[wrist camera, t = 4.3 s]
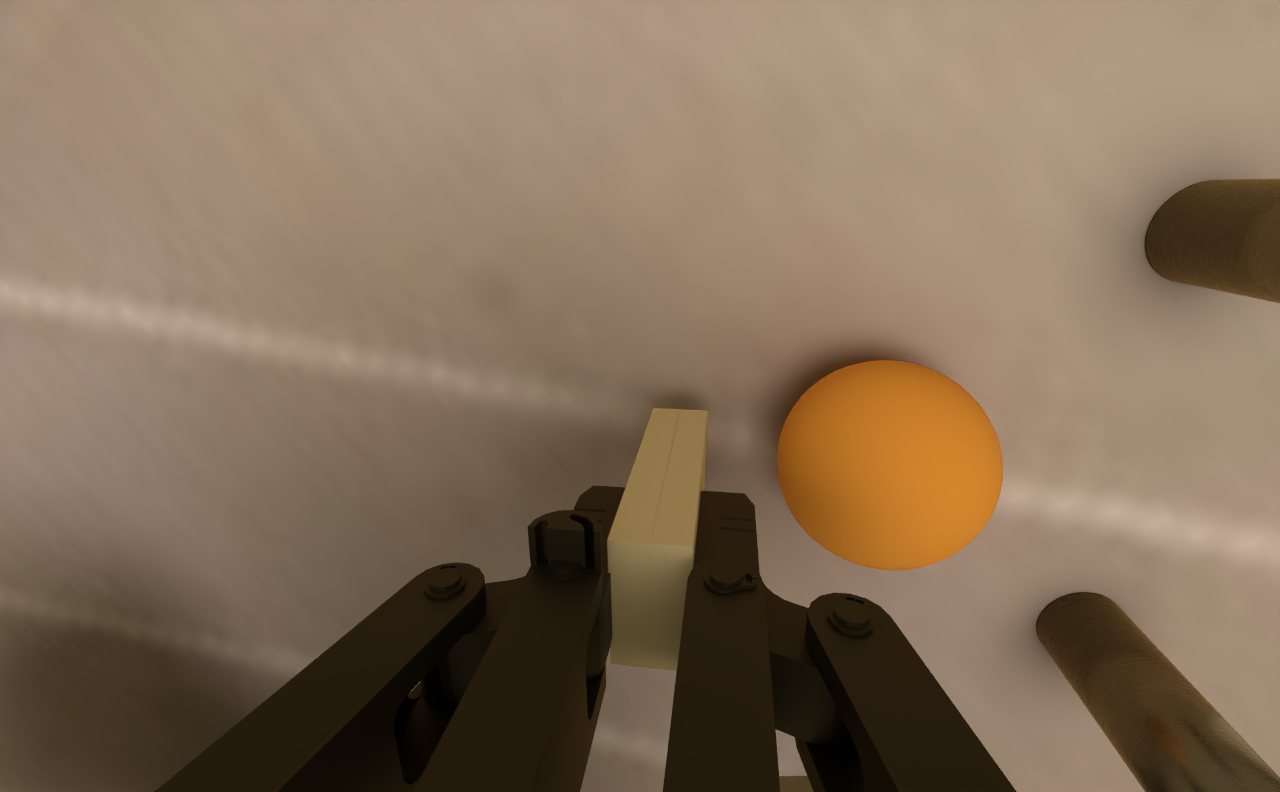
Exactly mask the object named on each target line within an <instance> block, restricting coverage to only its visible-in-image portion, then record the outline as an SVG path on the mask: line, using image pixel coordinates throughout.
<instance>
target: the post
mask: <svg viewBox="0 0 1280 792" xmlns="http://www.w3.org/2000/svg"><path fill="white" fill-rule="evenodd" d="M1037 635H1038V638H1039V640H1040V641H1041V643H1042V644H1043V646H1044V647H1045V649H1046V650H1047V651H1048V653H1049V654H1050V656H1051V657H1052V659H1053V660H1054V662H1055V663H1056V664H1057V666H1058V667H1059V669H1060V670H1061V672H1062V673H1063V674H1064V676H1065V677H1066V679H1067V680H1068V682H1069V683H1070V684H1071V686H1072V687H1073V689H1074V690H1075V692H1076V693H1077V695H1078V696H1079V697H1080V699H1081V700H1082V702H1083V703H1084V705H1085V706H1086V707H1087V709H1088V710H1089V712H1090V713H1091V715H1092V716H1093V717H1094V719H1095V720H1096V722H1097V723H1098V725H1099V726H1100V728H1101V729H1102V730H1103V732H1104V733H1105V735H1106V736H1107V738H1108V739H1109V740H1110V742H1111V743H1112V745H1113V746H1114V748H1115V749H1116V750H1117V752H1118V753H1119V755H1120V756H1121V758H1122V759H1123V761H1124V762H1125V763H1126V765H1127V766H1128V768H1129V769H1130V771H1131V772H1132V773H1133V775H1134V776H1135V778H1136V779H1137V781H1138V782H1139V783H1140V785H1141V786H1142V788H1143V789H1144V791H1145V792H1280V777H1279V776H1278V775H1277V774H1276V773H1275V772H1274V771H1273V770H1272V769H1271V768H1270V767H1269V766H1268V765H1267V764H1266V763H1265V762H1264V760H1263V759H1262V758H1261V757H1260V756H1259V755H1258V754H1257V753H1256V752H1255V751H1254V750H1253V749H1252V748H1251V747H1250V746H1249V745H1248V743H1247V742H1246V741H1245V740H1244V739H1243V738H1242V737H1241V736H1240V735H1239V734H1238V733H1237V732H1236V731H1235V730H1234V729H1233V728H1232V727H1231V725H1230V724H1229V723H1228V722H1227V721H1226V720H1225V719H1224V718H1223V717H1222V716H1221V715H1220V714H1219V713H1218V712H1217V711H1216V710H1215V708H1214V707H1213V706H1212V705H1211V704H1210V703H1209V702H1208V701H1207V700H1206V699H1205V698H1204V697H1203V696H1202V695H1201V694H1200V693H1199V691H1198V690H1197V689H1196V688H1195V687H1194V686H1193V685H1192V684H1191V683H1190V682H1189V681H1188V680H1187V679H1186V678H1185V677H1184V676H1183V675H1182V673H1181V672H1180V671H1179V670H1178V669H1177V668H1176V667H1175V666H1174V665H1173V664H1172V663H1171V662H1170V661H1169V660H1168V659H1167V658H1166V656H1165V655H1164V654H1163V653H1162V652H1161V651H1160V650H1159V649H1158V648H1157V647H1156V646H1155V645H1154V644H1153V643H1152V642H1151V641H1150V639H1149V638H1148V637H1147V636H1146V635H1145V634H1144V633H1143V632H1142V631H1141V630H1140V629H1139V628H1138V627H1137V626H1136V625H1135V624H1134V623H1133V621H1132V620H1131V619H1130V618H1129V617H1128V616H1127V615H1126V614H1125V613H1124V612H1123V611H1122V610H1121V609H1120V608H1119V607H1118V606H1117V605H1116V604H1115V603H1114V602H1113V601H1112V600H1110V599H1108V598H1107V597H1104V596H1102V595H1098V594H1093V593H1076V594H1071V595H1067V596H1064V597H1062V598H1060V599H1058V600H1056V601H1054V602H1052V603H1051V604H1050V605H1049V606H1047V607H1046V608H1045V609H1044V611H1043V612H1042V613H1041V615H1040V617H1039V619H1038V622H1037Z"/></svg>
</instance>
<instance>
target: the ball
mask: <svg viewBox="0 0 1280 792" xmlns="http://www.w3.org/2000/svg"><path fill="white" fill-rule="evenodd" d="M777 470H778V478H779V482H780V487H781V490H782V493H783V495H784V498H785V501H786V503H787V505H788V507H789V509H790V511H791V513H792V514H793V516H794V517H795V519H796V520H797V522H798V523H799V524H800V525H801V527H802V528H803V529H804V530H805V531H806V532H807V533H808V534H809V535H810V536H811V537H812V538H813V539H814V540H815V541H816V542H818V543H819V544H820V545H821V546H823V547H824V548H825V549H827V550H829V551H830V552H832V553H833V554H835V555H837V556H839V557H841V558H843V559H845V560H848V561H850V562H853V563H855V564H859V565H862V566H866V567H871V568H876V569H883V570H908V569H914V568H920V567H924V566H927V565H930V564H934V563H937V562H939V561H942V560H944V559H946V558H948V557H950V556H952V555H953V554H955V553H956V552H958V551H960V550H961V549H962V548H964V547H965V546H966V545H967V544H969V543H970V542H971V541H972V540H973V539H974V538H975V537H976V536H977V535H978V534H979V533H980V531H981V530H982V529H983V528H984V526H985V525H986V524H987V522H988V520H989V519H990V517H991V515H992V513H993V512H994V509H995V507H996V504H997V501H998V499H999V495H1000V491H1001V486H1002V480H1003V462H1002V454H1001V448H1000V444H999V441H998V437H997V434H996V432H995V430H994V428H993V426H992V424H991V422H990V420H989V418H988V416H987V415H986V413H985V412H984V411H983V409H982V408H981V406H980V405H979V404H978V402H977V401H976V400H975V399H974V398H973V397H972V396H971V395H970V394H969V393H968V392H967V391H966V390H965V389H963V388H962V387H961V386H960V385H959V384H957V383H956V382H954V381H953V380H951V379H950V378H948V377H946V376H945V375H942V374H940V373H938V372H936V371H934V370H932V369H929V368H926V367H924V366H921V365H917V364H913V363H909V362H903V361H894V360H875V361H868V362H862V363H858V364H854V365H850V366H846V367H844V368H842V369H839V370H837V371H834V372H832V373H831V374H829V375H827V376H825V377H824V378H822V379H821V380H819V381H818V382H817V383H815V384H814V385H813V386H812V387H810V388H809V389H808V390H807V391H806V392H805V393H804V394H803V395H802V396H801V397H800V399H799V400H798V401H797V403H796V404H795V406H794V407H793V408H792V410H791V411H790V413H789V415H788V417H787V419H786V421H785V423H784V426H783V429H782V432H781V435H780V438H779V444H778V451H777Z"/></svg>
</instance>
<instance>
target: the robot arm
mask: <svg viewBox="0 0 1280 792" xmlns="http://www.w3.org/2000/svg"><path fill="white" fill-rule="evenodd" d="M706 438H707V410H685V409H663V408H653V411H652V414H651V416H650V419H649V422H648V425H647V428H646V431H645V434H644V436H643V439H642V442H641V445H640V448H639V451H638V454H637V456H636V459H635V462H634V465H633V468H632V471H631V474H630V476H629V479H628V482H627V485H626V488H623V487H608V486H592V487H591V488H590V489H588V490H587V491H586V492H584V493H583V494H582V495H580V497H579V499H578V501H577V503H576V505H575V507H574V510H563V511H556V512H551V513H547V514H545V515H543V516H541V517H539V518H537V519H535V520H534V521H533V522H532V523H531V524H530V525H529V526H528V537H529V549H530V561H531V567H530V569H529V571H528V573H527V574H526V576H524V577H521V578H518V579H513V580H508V581H501V582H493V583H486V584H485V579H484V575H483V574H482V572H481V571H480V569H479V568H477V567H475V566H472V565H470V564H465V563H449V564H442V565H439V566H436V567H433V568H430V569H427V570H426V571H424V572H422V573H421V574H419V575H418V576H416V577H415V578H414V579H412V580H411V581H410V582H409V583H407V584H406V585H405V586H404V587H403V588H401V589H400V590H399V591H398V592H397V593H395V594H394V595H393V596H392V597H390V598H389V599H388V600H387V601H386V602H384V603H383V604H382V605H381V606H380V607H378V608H377V609H376V610H375V611H374V612H372V613H371V614H370V615H369V616H367V617H366V618H365V619H364V620H363V621H361V622H360V623H359V624H358V625H357V626H355V627H354V628H353V629H352V630H350V631H349V632H348V633H347V634H346V635H344V636H343V637H342V638H341V639H340V640H338V641H337V642H336V643H335V644H334V645H332V646H331V647H330V648H329V649H327V650H326V651H325V652H324V653H323V654H321V655H320V656H319V657H318V658H317V659H315V660H314V661H313V662H312V663H310V664H309V665H308V666H307V667H306V668H304V669H303V670H302V671H301V672H300V673H298V674H297V675H296V676H295V677H293V678H292V679H291V680H290V681H289V682H287V683H286V684H285V685H284V686H283V687H281V688H280V689H279V690H278V691H277V692H275V693H274V694H273V695H272V696H270V697H269V698H268V699H267V700H266V701H264V702H263V703H262V704H261V705H260V706H258V707H257V708H256V709H255V710H253V711H252V712H251V713H250V714H249V715H247V716H246V717H245V718H244V719H243V720H241V721H240V722H239V723H238V724H237V725H235V726H234V727H233V728H232V729H230V730H229V731H228V732H227V733H226V734H224V735H223V736H222V737H221V738H220V739H218V740H217V741H216V742H215V743H213V744H212V745H211V746H210V747H209V748H207V749H206V750H205V751H204V752H203V753H201V754H200V755H199V756H198V757H196V758H195V759H194V760H193V761H192V762H190V763H189V764H188V765H187V766H186V767H184V768H183V769H182V770H181V771H180V772H178V773H177V774H176V775H175V776H173V777H172V778H171V779H170V780H169V781H167V782H166V783H165V784H164V785H163V786H161V787H160V788H159V789H158V790H156V791H155V792H580V789H581V785H582V781H583V777H584V773H585V769H586V765H587V761H588V757H589V753H590V749H591V744H592V740H593V736H594V732H595V728H596V724H597V720H598V716H599V712H600V708H601V704H602V700H603V696H604V692H605V688H606V664H605V663H606V659H607V656H608V652H609V648H610V649H611V664H620V665H629V666H639V667H648V668H658V669H667V670H677V674H676V683H675V691H674V700H673V709H672V717H671V726H670V735H669V743H668V752H667V761H666V769H665V778H664V787H663V792H780V783H779V770H778V757H777V745H776V732H775V729H777V730H779V731H782V732H784V733H787V734H789V735H792V736H794V737H795V740H796V747H797V750H798V752H799V755H800V758H801V760H802V763H803V765H804V768H805V771H806V773H807V776H808V778H809V781H810V784H811V786H812V789H813V791H814V792H1016V790H1015V789H1014V788H1013V786H1012V785H1011V783H1010V782H1009V781H1008V779H1007V778H1006V776H1005V775H1004V774H1003V772H1002V771H1001V769H1000V768H999V767H998V765H997V764H996V763H995V761H994V760H993V758H992V757H991V756H990V754H989V753H988V751H987V750H986V749H985V747H984V746H983V744H982V743H981V742H980V740H979V739H978V737H977V736H976V735H975V733H974V732H973V731H972V729H971V728H970V726H969V725H968V724H967V722H966V721H965V719H964V718H963V717H962V715H961V714H960V712H959V711H958V710H957V708H956V707H955V705H954V704H953V703H952V701H951V700H950V698H949V697H948V696H947V694H946V693H945V692H944V690H943V689H942V687H941V686H940V685H939V683H938V682H937V680H936V679H935V678H934V676H933V675H932V673H931V672H930V671H929V669H928V668H927V666H926V665H925V664H924V662H923V661H922V660H921V658H920V657H919V655H918V654H917V653H916V651H915V650H914V648H913V647H912V646H911V644H910V643H909V641H908V640H907V639H906V637H905V636H904V634H903V633H902V632H901V630H900V629H899V627H898V626H897V625H896V623H895V622H894V621H893V619H892V618H891V617H890V616H889V615H888V614H887V613H886V612H885V611H884V610H883V609H882V608H881V607H880V606H879V605H877V604H875V603H873V602H871V601H870V600H868V599H866V598H863V597H859V596H856V595H852V594H846V593H831V594H826V595H822V596H820V597H818V598H817V599H815V600H814V601H812V602H811V604H810V607H809V608H806V607H803V606H800V605H797V604H794V603H791V602H789V601H786V600H784V599H782V598H780V597H779V596H777V595H775V594H774V593H772V592H771V591H770V590H769V589H768V588H767V587H766V586H765V584H764V583H763V581H762V578H761V576H760V573H759V560H758V547H757V533H756V522H755V506H754V504H753V503H752V502H751V501H750V500H749V498H748V497H747V496H746V495H745V494H743V493H728V492H712V491H705V469H706ZM419 682H420V683H419ZM418 683H419V684H418ZM417 684H418V685H417ZM416 685H417V686H416ZM415 686H416V688H415V689H414V690H412V689H413V688H414V687H415ZM411 690H412V691H411ZM410 691H411V692H410ZM409 692H410V693H409Z"/></svg>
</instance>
